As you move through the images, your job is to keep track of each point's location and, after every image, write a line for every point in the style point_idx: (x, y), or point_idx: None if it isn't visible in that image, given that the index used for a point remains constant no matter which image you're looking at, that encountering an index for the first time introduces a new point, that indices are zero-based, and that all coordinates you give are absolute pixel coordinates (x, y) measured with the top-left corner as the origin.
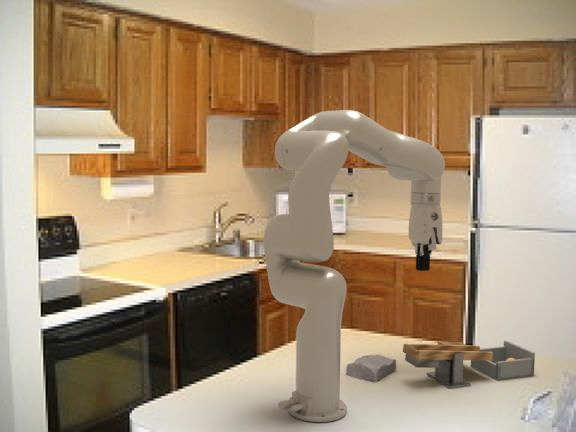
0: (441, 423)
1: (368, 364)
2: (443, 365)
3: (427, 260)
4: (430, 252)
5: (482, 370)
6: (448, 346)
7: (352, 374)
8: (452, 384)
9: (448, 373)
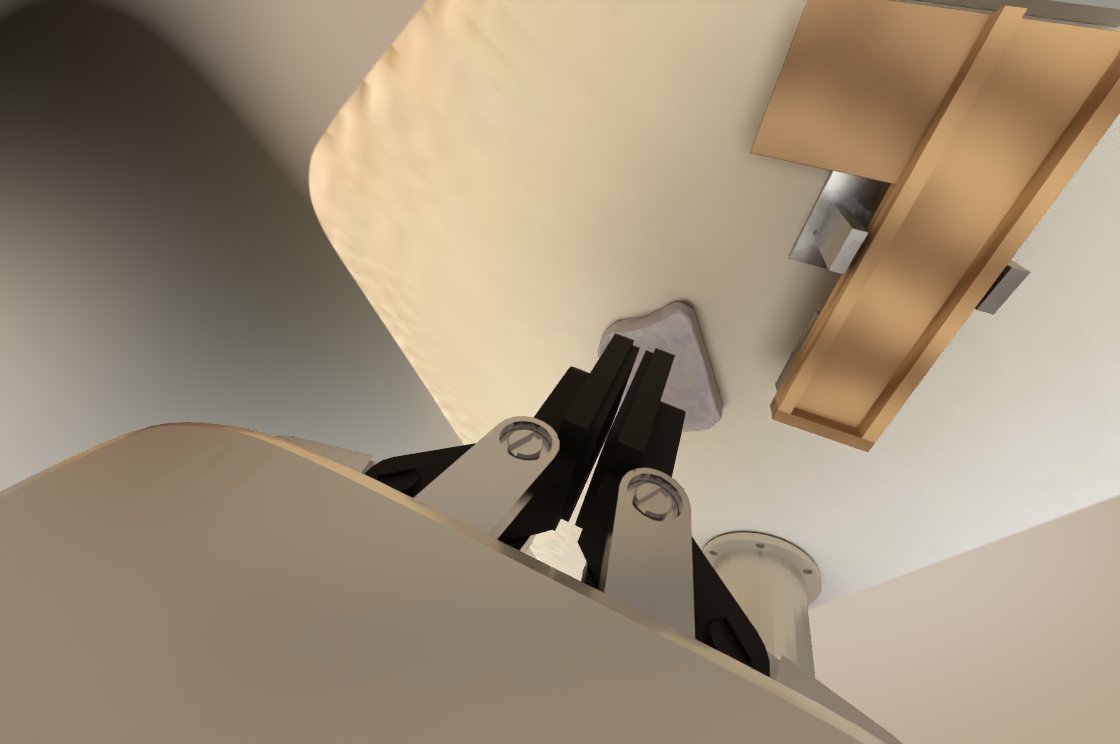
0: (1053, 497)
1: (690, 428)
2: None
3: (672, 466)
4: (712, 573)
5: (982, 6)
6: (891, 237)
7: None
8: None
9: None
